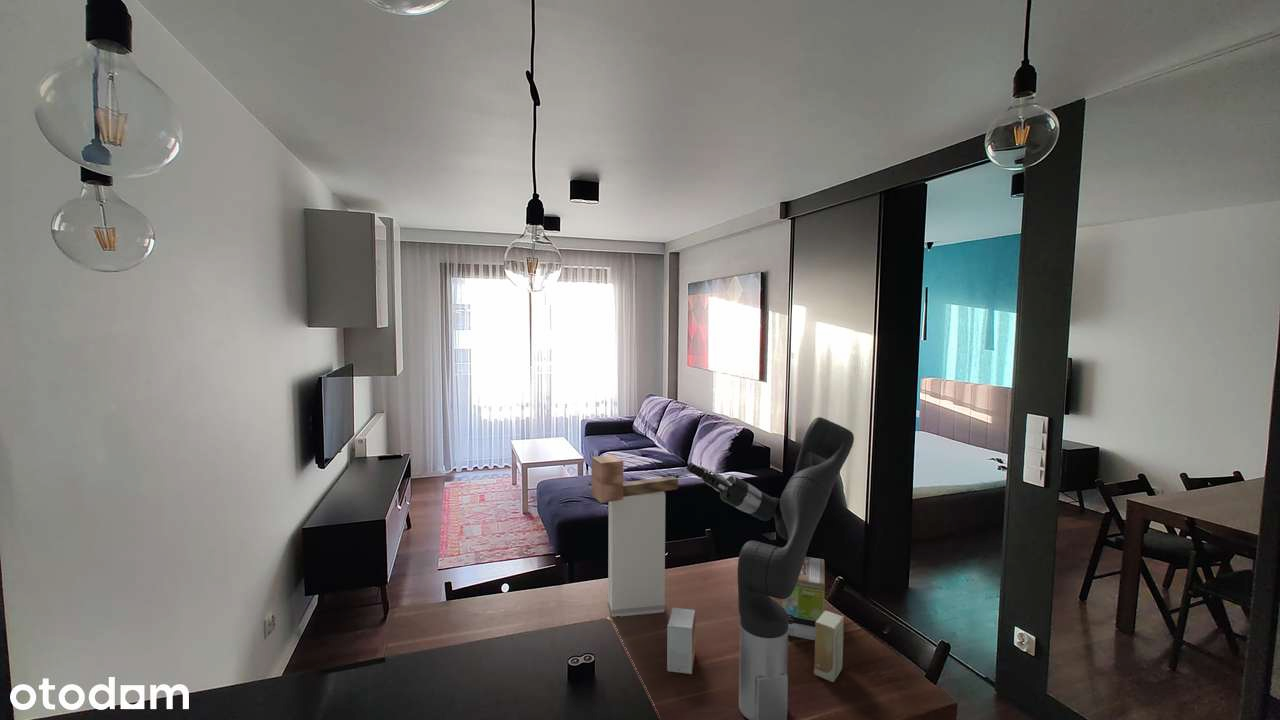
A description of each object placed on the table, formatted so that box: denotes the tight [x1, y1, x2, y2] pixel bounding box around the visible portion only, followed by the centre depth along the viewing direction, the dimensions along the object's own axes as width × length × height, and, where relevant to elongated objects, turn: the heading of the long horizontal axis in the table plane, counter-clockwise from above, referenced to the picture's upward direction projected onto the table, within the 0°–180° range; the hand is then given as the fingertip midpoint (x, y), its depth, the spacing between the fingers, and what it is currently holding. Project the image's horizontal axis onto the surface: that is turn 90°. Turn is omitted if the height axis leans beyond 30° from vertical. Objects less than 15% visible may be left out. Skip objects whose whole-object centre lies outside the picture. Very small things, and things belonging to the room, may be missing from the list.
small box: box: [666, 607, 696, 675], centre depth 119 cm, size 8×6×10 cm
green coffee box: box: [781, 556, 826, 641], centre depth 135 cm, size 15×10×15 cm, turn 161°
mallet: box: [590, 454, 679, 504], centre depth 138 cm, size 23×7×10 cm, turn 115°
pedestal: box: [607, 491, 666, 618], centre depth 141 cm, size 14×8×32 cm, turn 101°
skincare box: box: [813, 609, 845, 683], centre depth 116 cm, size 6×4×12 cm
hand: (689, 466), depth 143 cm, fingers closed
